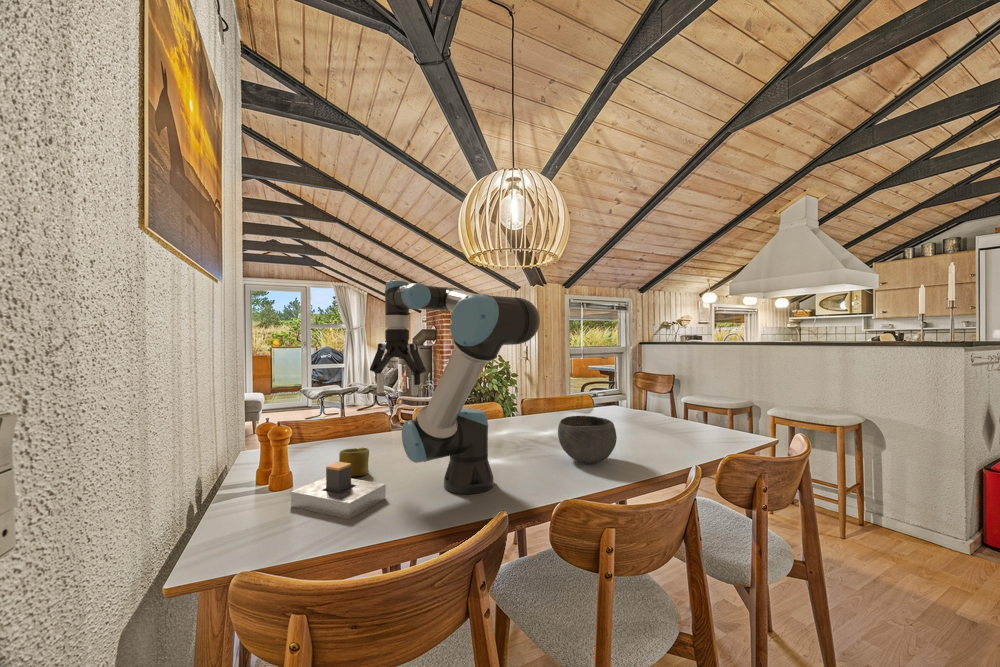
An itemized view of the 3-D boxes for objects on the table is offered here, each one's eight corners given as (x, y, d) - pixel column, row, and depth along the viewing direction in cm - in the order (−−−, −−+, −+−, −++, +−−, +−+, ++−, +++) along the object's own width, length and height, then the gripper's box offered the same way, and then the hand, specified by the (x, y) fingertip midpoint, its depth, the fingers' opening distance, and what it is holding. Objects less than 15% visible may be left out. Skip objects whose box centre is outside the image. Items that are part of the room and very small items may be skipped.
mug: (362, 475, 127) (356, 443, 129) (334, 483, 129) (329, 452, 131) (383, 470, 138) (377, 441, 141) (357, 478, 140) (352, 449, 143)
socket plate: (385, 498, 114) (385, 482, 114) (349, 519, 101) (349, 500, 101) (331, 488, 121) (331, 472, 121) (290, 506, 108) (290, 489, 108)
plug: (351, 499, 112) (351, 463, 112) (338, 505, 108) (338, 468, 108) (338, 497, 114) (338, 461, 114) (326, 503, 110) (326, 466, 110)
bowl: (580, 450, 161) (580, 412, 162) (628, 462, 146) (628, 420, 146) (545, 461, 147) (545, 419, 147) (594, 475, 132) (594, 429, 132)
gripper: (436, 328, 130) (436, 394, 130) (374, 329, 140) (374, 390, 140) (423, 328, 123) (423, 397, 123) (358, 328, 133) (358, 393, 133)
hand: (397, 394), depth 132 cm, fingers open, 13 cm apart
